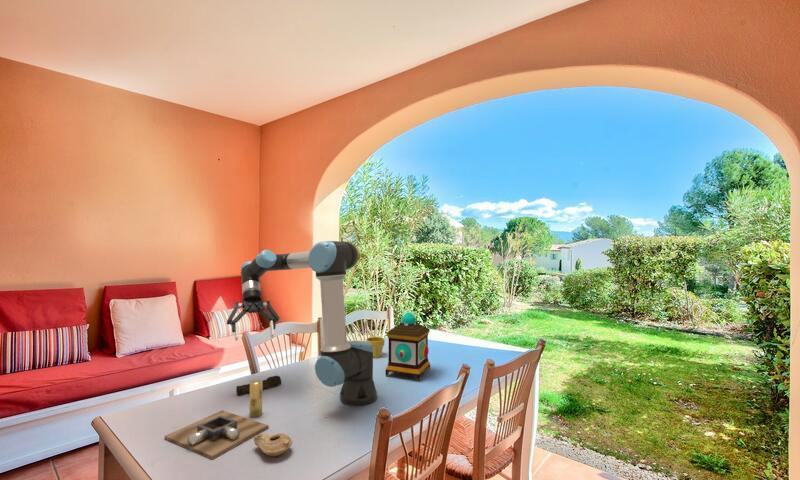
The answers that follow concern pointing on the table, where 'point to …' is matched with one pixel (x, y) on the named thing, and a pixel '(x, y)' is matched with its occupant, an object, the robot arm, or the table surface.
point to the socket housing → (209, 433)
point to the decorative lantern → (408, 347)
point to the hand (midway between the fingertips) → (255, 337)
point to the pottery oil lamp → (273, 443)
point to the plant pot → (376, 345)
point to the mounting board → (221, 445)
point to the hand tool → (267, 383)
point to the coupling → (255, 398)
